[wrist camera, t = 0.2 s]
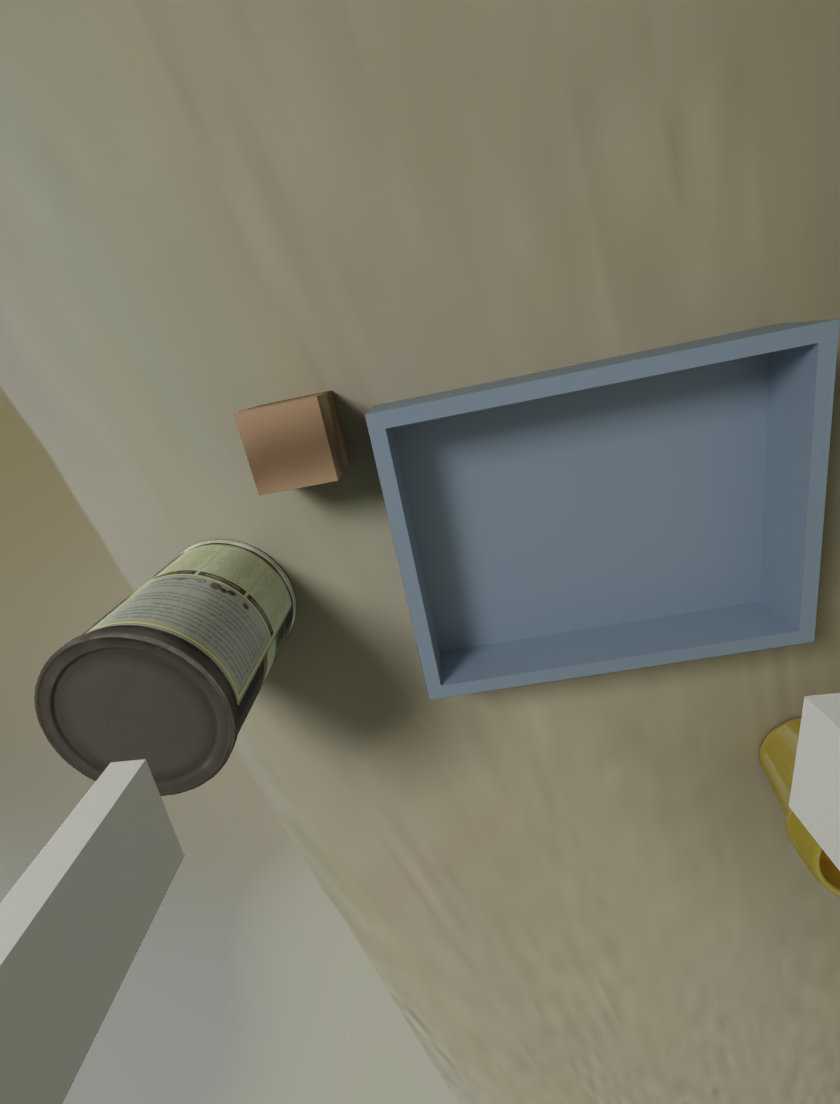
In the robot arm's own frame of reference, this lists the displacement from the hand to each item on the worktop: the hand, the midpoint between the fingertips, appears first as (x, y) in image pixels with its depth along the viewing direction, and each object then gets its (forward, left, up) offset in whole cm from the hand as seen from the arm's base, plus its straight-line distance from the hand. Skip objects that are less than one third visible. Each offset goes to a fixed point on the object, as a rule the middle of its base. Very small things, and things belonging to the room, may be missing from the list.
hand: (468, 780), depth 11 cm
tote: (+4, +9, -28) cm, 29 cm away
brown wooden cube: (-5, -9, -28) cm, 29 cm away
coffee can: (+6, -18, -28) cm, 34 cm away
